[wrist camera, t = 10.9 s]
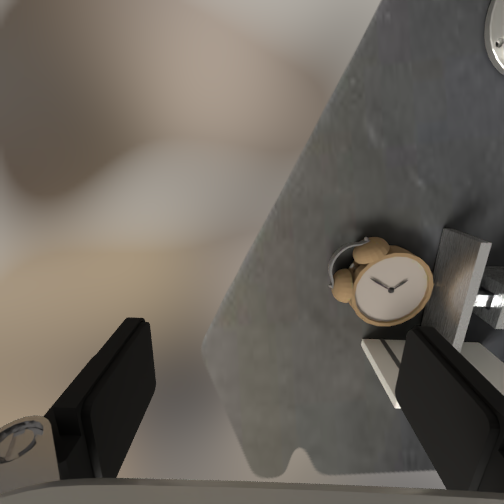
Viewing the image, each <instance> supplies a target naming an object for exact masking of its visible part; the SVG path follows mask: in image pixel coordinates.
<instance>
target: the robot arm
mask: <svg viewBox="0 0 504 504" xmlns="http://www.w3.org/2000/svg"><path fill="white" fill-rule="evenodd" d="M484 38H485V47H486V50H487V53H488V56H489V59H490V60H491V62H492V64H493V65H494V67H495V68H496V69H497V70H498V71H499V72H500V73H501V74H503V75H504V0H491V3H490V6H489V8H488V12H487V16H486V21H485V31H484ZM155 387H156V379H155V369H154V360H153V350H152V341H151V332H150V324H149V322H145V320H144V319H143V318H126V319H125V320H124V322H123V323H122V324H121V325H120V326H119V328H118V329H117V330H116V331H115V332H114V334H113V335H112V336H111V337H110V338H109V340H108V341H107V342H106V343H105V344H104V346H103V347H102V348H101V349H100V350H99V352H98V353H97V354H96V355H95V356H94V357H93V358H92V359H91V360H90V361H89V362H88V363H87V365H86V366H85V367H84V369H82V371H81V372H80V373H79V374H78V376H77V377H76V378H75V379H74V380H73V382H72V383H71V384H70V385H69V387H68V388H67V389H66V390H65V391H64V392H63V394H62V395H61V396H60V397H59V398H58V400H57V401H56V402H55V403H54V405H53V406H52V407H51V408H50V409H49V411H48V412H47V413H46V414H45V415H44V416H28V417H23V418H20V419H17V420H15V421H13V422H10V423H8V424H6V425H4V426H3V427H1V428H0V504H504V395H503V394H501V393H500V392H499V391H498V390H497V389H496V388H495V387H494V386H493V385H492V384H491V383H490V382H489V381H488V380H487V379H486V378H485V377H484V376H483V375H482V374H481V373H480V372H479V371H478V370H477V369H476V368H475V367H474V366H473V365H472V364H471V363H470V362H469V361H468V360H467V359H466V358H465V357H464V356H463V355H462V354H461V353H459V352H458V351H457V350H456V349H455V348H454V347H453V346H452V345H451V344H450V343H449V342H448V341H447V340H446V339H445V338H444V337H443V336H442V335H441V334H440V333H439V332H438V331H437V330H436V329H435V328H433V327H431V326H414V327H413V328H412V330H409V331H408V332H407V336H406V341H405V345H404V350H403V355H402V359H401V364H400V368H399V373H398V378H397V382H396V387H395V397H396V400H397V402H398V404H399V406H400V407H401V409H402V411H403V413H404V414H405V416H406V418H407V420H408V421H409V423H410V425H411V427H412V429H413V430H414V432H415V434H416V436H417V437H418V439H419V441H420V443H421V445H422V446H423V448H424V450H425V452H426V453H427V455H428V457H429V459H430V460H431V462H432V464H433V466H434V468H435V469H436V471H437V473H438V474H439V476H440V478H441V480H442V482H443V483H444V485H445V487H446V489H447V490H445V489H423V488H401V487H378V486H355V485H329V484H305V483H304V484H303V483H278V482H275V483H274V482H251V481H219V480H187V479H154V478H152V479H151V478H116V477H117V475H118V472H119V470H120V468H121V466H122V463H123V461H124V459H125V457H126V454H127V452H128V450H129V448H130V446H131V443H132V441H133V439H134V436H135V434H136V432H137V430H138V428H139V425H140V423H141V421H142V419H143V416H144V414H145V412H146V409H147V407H148V405H149V403H150V401H151V398H152V396H153V394H154V391H155Z"/></svg>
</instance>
